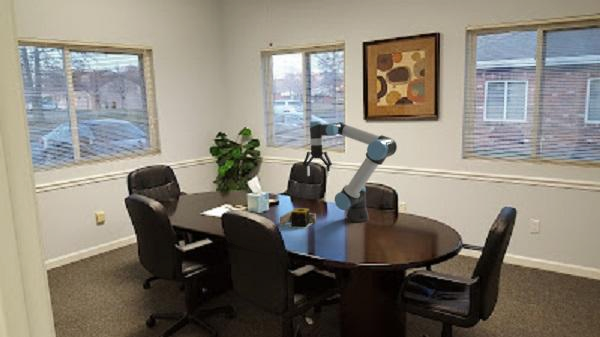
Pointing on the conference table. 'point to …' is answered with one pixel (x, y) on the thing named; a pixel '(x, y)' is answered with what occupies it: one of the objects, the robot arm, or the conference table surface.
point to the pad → (301, 227)
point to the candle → (300, 217)
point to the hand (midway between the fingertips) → (317, 175)
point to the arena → (288, 217)
